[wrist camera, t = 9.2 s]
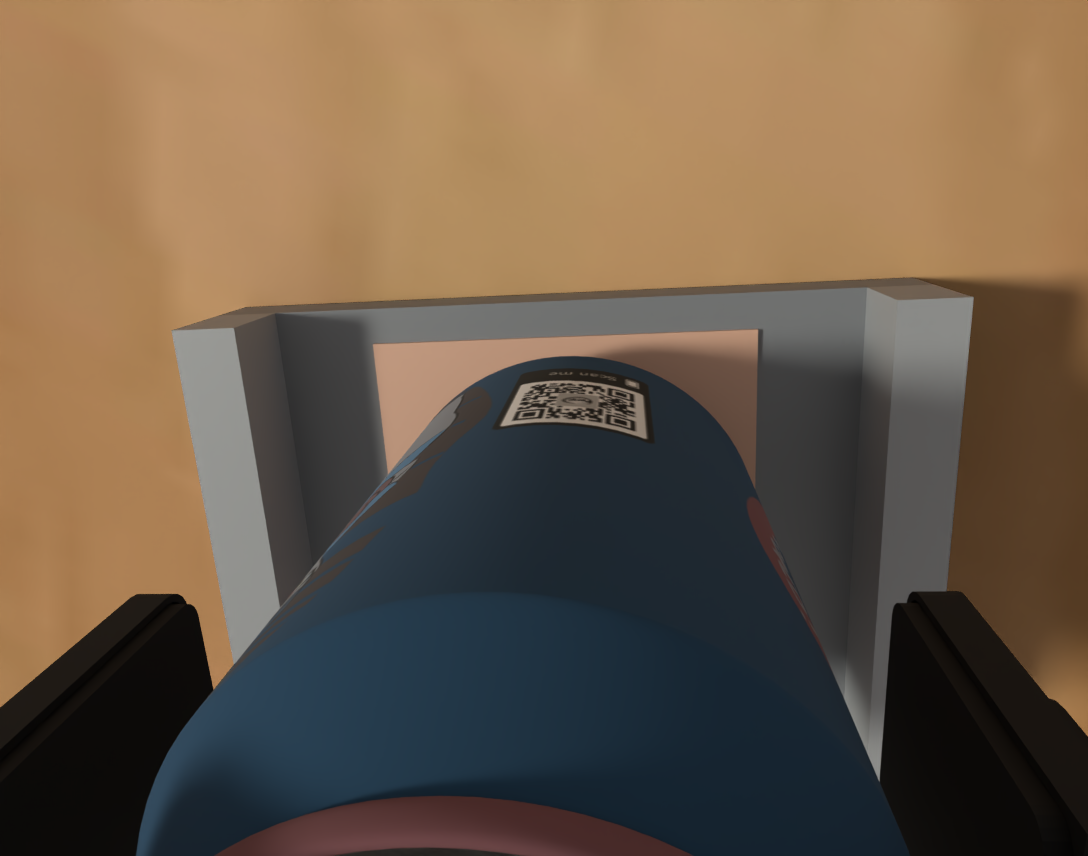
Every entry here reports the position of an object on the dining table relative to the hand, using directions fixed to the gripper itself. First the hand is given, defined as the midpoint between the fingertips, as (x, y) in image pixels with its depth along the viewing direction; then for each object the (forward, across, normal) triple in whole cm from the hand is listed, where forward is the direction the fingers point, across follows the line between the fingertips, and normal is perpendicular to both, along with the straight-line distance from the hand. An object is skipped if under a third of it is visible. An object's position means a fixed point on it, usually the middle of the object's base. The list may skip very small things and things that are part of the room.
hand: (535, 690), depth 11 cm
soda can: (+7, 0, 0) cm, 7 cm away
